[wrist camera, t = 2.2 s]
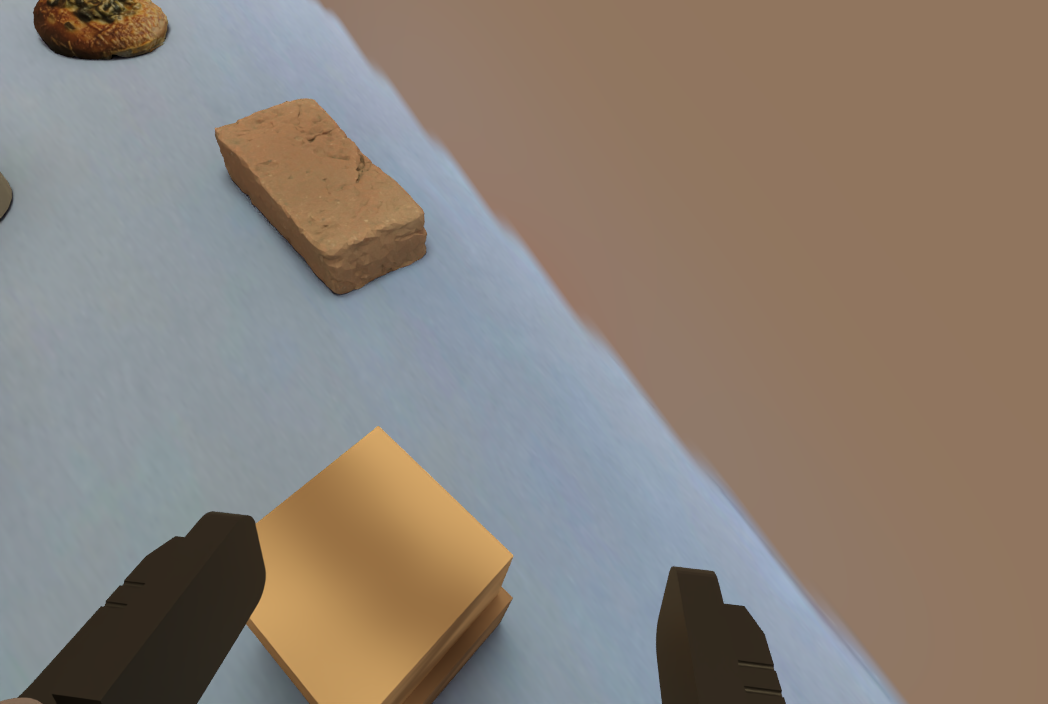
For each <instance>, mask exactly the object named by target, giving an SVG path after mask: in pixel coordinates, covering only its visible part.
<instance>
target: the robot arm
mask: <svg viewBox="0 0 1048 704" xmlns="http://www.w3.org/2000/svg"><path fill="white" fill-rule="evenodd" d="M11 199H12V189H11V187H10V185H9V183H8V181H7V180H6V179H5V177H4V176H3V175H2V173H1V172H0V218H1V217H2V216H3V215H4V213H5V212H6V211H7V209H8V208H9V205H10V202H11ZM265 581H266V569H265V564H264V560H263V555H262V551H261V546H260V542H259V537H258V533H257V528H256V524H255V521H254V519H253V518H252V517H251V516H248V515H240V514H231V513H223V512H214V511H212V512H208V513H206V514H205V515H204V516H203V517H202V518H201V519H200V520H199V521H198V522H197V523H196V525H195V526H194V527H193V528H192V529H191V530H190V532H189V533H188V534H187V535H186V536H185V537H178V536H175V537H174V538H172V539H171V540H169V541H168V542H166V543H165V544H163V545H162V546H160V547H159V548H157V549H156V550H154V551H153V552H151V553H150V554H149V555H147V556H146V557H145V558H144V559H143V560H142V561H141V562H140V564H139V565H138V566H137V567H136V568H135V569H134V570H133V571H132V572H131V574H130V575H129V576H128V577H127V578H126V579H125V580H124V584H123V585H122V586H119V587H118V588H117V589H116V590H115V591H114V592H113V594H112V595H111V596H110V597H109V598H108V599H107V600H106V604H105V606H104V607H102V606H101V607H100V608H99V609H98V610H97V611H96V613H95V614H94V615H93V616H92V617H91V618H90V619H89V620H88V621H87V623H86V624H85V625H84V626H83V627H82V628H81V629H80V630H79V631H78V633H77V634H76V635H75V636H74V637H73V638H72V639H71V640H70V642H69V643H68V644H67V645H66V646H65V647H64V648H63V649H62V650H61V652H60V653H59V654H58V655H57V656H56V657H55V658H54V659H53V660H52V662H51V663H50V664H49V665H48V666H47V667H46V668H45V669H44V670H43V672H42V673H41V674H40V675H39V676H38V677H37V678H36V679H35V680H34V682H33V683H32V684H31V685H30V686H29V687H28V688H27V689H26V690H25V691H24V692H23V693H22V694H21V695H20V696H19V697H17V698H13V699H8V700H4V701H1V702H0V704H197V703H198V701H199V700H200V698H201V696H202V695H203V693H204V692H205V690H206V688H207V687H208V685H209V683H210V682H211V680H212V678H213V677H214V675H215V674H216V672H217V670H218V669H219V667H220V665H221V664H222V662H223V660H224V659H225V657H226V656H227V654H228V652H229V651H230V649H231V647H232V646H233V644H234V642H235V641H236V639H237V638H238V636H239V634H240V633H241V631H242V629H243V628H244V626H245V625H246V623H247V621H248V620H249V618H250V616H251V615H252V613H253V611H254V610H255V608H256V607H257V605H258V603H259V601H260V599H261V596H262V594H263V590H264V586H265ZM656 653H657V663H658V672H659V681H660V690H661V698H662V704H786V703H785V700H784V697H782V694H781V692H782V690H781V686H780V683H779V680H778V677H777V673H776V671H774V664H773V660H772V657H771V654H770V651H769V647H768V644H767V641H766V638H765V634H764V633H763V631H762V630H761V628H760V627H759V626H758V624H757V623H756V622H755V620H754V619H753V617H752V616H751V615H750V613H749V612H748V611H747V609H746V608H745V606H739V605H731V604H724V603H723V599H722V595H721V591H720V587H719V583H718V579H717V576H716V574H715V572H713V571H708V570H700V569H691V568H683V567H674V566H673V567H671V569H670V572H669V576H668V580H667V584H666V588H665V593H664V597H663V601H662V605H661V609H660V614H659V618H658V623H657V633H656Z"/></svg>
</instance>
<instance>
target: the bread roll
mask: <svg viewBox="0 0 1048 704" xmlns="http://www.w3.org/2000/svg"><path fill="white" fill-rule="evenodd" d="M33 14H34V26H35V29H36V30H37V32H38V34H39V35H40V36H41V38H42V39H43V40H44V42H45V43H46V44H47V45H48V46H49V47H50V48H51V50H53V51H55V53H57V54H61V55H64V56H67V57H73V56H76V57H78V58H81V59H97V60H98V59H102V60H103V59H106V60H107V59H111V57H112V56H111V55H112V54H116V55H119V56H123V57H132V56H135V55H136V56H137V55H140V54H144V53H146V52H151V51H153V50H154V49H156V48H157V47H159V46H161V45H163V42H164V39H166V38H165V37H166V32H167V25H168V20H167V16H166V15H165V14H164V13H163V12H162V10H161V8H159V7H158V6H157V5H155V4H154V3H152V1H151V0H39V1H38V2H37V4H36V6H35V8H34V12H33Z"/></svg>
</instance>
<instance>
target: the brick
mask: <svg viewBox="0 0 1048 704" xmlns="http://www.w3.org/2000/svg"><path fill="white" fill-rule="evenodd" d="M215 137H216V139H217V142H218V145H219V147H220V152H221V154H222V156H223V157H224V162H225V166H226V168H227V170H228V173H229V175H230V177H231V179H232V180H233V181H234V182H235V183H236V184H237V185H238V187H239V188H240V189H241V191H242V192H244V193H245V194H247V195H249V197H250V199H251V202H252V204H253V205H254V206H256V207H257V208H258V209H259V210H260V211H261V212H262V213H263V215H264V216H265V217H266V218H267V219H268V220H269V221H270V223H271V224H272V225H273V226H274V227H275V228H277V230H278V231H279V233H280V234H281V235H283V236H284V237H285V238H286V239H287V240H288V241H289V243H290V244H291V245H292V246H293V247H294V249H295V250H296V251H297V252H298V253H299V254H300V255H301V256H303V257H304V259H305V260H306V262H307V264H308V265H309V266H310V267H311V269H312V270H313V272H314V273H315V274H316V275H317V276H318V277H319V278H320V279H321V280H322V281H323V282H324V283H325V284H326V286H328V287H329V288H330V289H331V290H332V291H333V292H335V293H337V294H344V293H348V292H350V291H352V290H354V289H356V290H357V289H359V288H362V287H363V286H364V285H365V284H367V283H368V282H370V281H373V280H374V279H375V278H378V277H380V276H382V275H385V274H386V273H389V272H390V271H395V270H397V269H399V268H402V267H405V266H408V265H410V264H412V263H414V262H415V261H417V260H419V259H421V258H422V257H423V256H424V255H425V253H426V246H425V241H426V236H427V232H426V230H425V228H424V227H423V226H424V223H425V221H424V212H423V210H422V208H421V207H420V206H419V205H418V204H417V203H416V202H415V201H414V200H413V199H412V197H411V196H410V195H409V194H408V193H407V192H406V191H405V190H404V189H403V188H402V187H401V186H400V185H399V184H398V183H397V182H396V181H395V180H394V179H392V178H391V177H390V176H388V175H387V174H385V173H384V172H383V171H382V170H381V169H380V168H379V167H377V166H375V165H374V164H372V162H371V161H370V160H369V159H368V158H367V157H366V156H365V155H363V154H362V153H361V151H360V150H359V148H358V147H357V146H356V145H355V143H354V142H352V141H351V139H349V138H347V136H346V134H345V132H344V131H343V130H341V129H340V127H339V126H338V125H337V123H336V122H335V121H334V120H333V119H332V118H331V117H330V116H329V115H328V114H327V112H326V111H325V110H324V109H323V108H322V107H321V106H319V105H318V103H317V102H316V101H315V100H313V99H298V100H294V101H291V102H288V101H286V102H284V103H282V104H279V105H276V106H273V107H270V108H268V109H266V110H261V111H258V112H256V113H253V114H252V115H250V116H248V117H245V118H243V119H240V120H238V121H237V122H236V123H233V124H229V125H225V126H222V127H219V128H215Z"/></svg>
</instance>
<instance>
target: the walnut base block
mask: <svg viewBox="0 0 1048 704" xmlns="http://www.w3.org/2000/svg"><path fill="white" fill-rule="evenodd" d="M512 599H513V598H512V597H511V596H510V595H509V594H508V593H507V592H506V591H505V590H504V589H503V588H502V587H501V588H500V590H499V593H498V595H497V596H496V597H495V598H494V599H493V601H492V602H491V603H490V604H489V605H488V606H487V607H486V609H485V610H484V611H483V612H482V613H481V614H480V615H479V617H478V618H477V619H476V620H475V621H474V622H473V623H472V625H471V626H470V627H469V628H468V629H467V630H466V631H465V633H464V634H463V635H462V636H461V637H460V638H459V639H458V641H457V642H456V643H455V644H454V645H453V646H452V647H451V649H450V650H449V651H448V652H447V653H446V654H445V655H444V657H443V658H442V659H441V660H440V661H439V662H438V663H437V665H436V666H435V667H434V668H433V669H432V670H431V671H430V672H429V674H428V675H427V676H426V677H425V678H424V679H423V680H422V682H421V683H420V684H419V685H418V686H417V687H416V688H415V690H414V691H413V692H412V693H411V694H410V695H409V696H408V698H407V699H406V700H405V701H404V702H403V703H402V704H432V703H433V701H434V700H435V699H436V698H437V697H438V695H439V694H440V693H441V692H442V691H443V690H444V688H445V687H446V686H447V685H448V684H449V682H450V681H451V680H452V679H453V678H454V677H455V675H456V674H457V673H458V672H459V671H460V669H461V668H462V667H463V666H464V665H465V664H466V662H467V661H468V660H469V659H470V658H471V657H472V655H473V654H474V653H475V652H476V651H477V649H478V648H479V647H480V646H481V645H482V644H483V642H484V641H485V640H486V639H487V638H488V636H489V635H490V634H491V633H492V632H493V631H494V629H495V628H496V627H497V626H498V625H499V623H500V622H501V620H502V618H503V616H504V614H505V612H506V610H507V608H508V606H509V604H510V603H511V601H512ZM246 624H247V626H248V627H249V628H250V629H251V631H252V632H253V633H254V634H255V636H256V637H257V638H258V639H259V641H260V642H261V643H262V644H263V646H264V647H265V648H266V649H267V651H268V652H269V653H270V654H271V656H272V657H273V658H274V659H275V661H276V662H277V663H278V664H279V666H280V667H281V668H282V669H283V671H284V672H285V673H286V674H287V676H288V677H289V678H290V680H291V681H292V682H293V683H294V685H295V686H296V687H297V688H298V690H299V691H300V692H301V693H302V695H303V696H304V697H305V698H306V700H307V701H308V702H309V703H310V704H318V702H317V701H316V700H315V699H314V697H313V696H312V695H311V694H310V692H309V691H308V690H307V689H306V687H305V686H304V685H303V684H302V682H301V681H300V680H299V679H298V678H297V676H296V675H295V674H294V673H293V671H292V670H291V669H290V668H289V666H288V665H287V664H286V663H285V661H284V660H283V659H282V658H281V656H280V655H279V654H278V653H277V651H276V650H275V649H274V648H273V646H272V645H271V644H270V643H269V641H268V640H267V639H266V638H265V636H264V635H263V634H262V633H261V632H260V630H259V629H258V628H257V627H256V625H255V624H254V623H253V622H252V620H251V619H250V618H249V620H248V621H247V623H246Z"/></svg>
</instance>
